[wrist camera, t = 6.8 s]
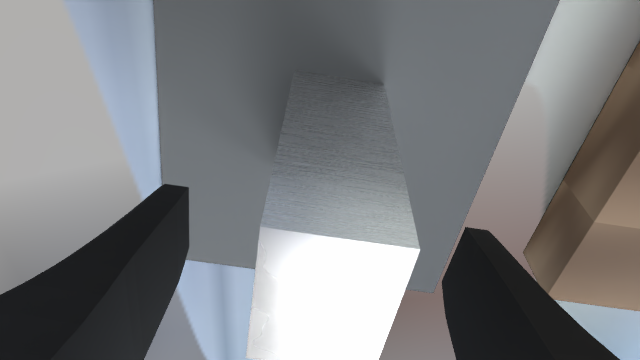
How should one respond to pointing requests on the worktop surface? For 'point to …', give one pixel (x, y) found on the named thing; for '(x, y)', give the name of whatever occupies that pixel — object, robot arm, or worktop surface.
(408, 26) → the mat
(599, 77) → the worktop surface
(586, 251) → the block
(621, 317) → the worktop surface
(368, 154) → the steel peg
